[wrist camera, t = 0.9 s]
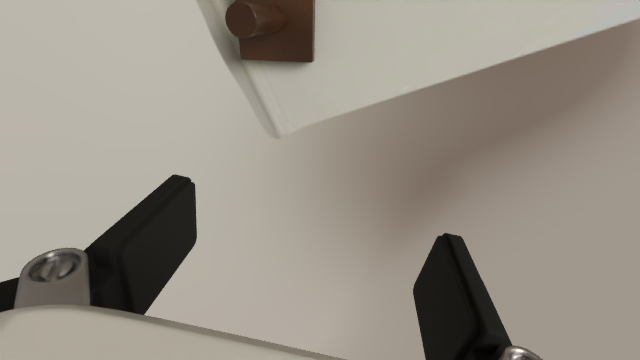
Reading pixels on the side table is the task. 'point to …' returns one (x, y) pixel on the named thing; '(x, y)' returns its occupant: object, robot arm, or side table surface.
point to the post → (274, 29)
